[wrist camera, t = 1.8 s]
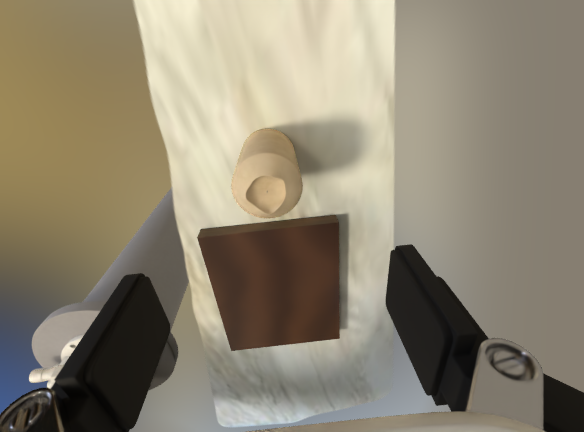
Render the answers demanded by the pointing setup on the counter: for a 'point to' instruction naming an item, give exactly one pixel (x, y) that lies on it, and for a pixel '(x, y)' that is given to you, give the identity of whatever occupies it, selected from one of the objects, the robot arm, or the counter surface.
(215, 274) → the walnut board
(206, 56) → the counter surface
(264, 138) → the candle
